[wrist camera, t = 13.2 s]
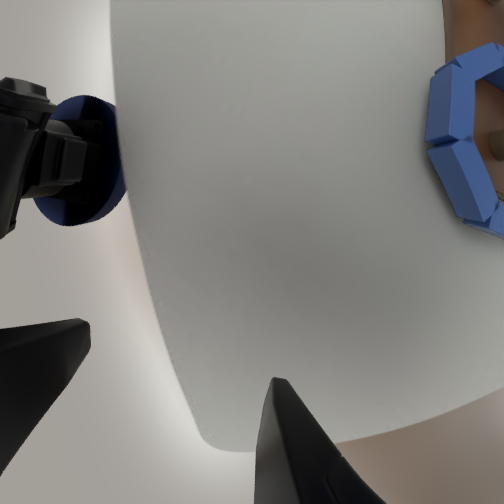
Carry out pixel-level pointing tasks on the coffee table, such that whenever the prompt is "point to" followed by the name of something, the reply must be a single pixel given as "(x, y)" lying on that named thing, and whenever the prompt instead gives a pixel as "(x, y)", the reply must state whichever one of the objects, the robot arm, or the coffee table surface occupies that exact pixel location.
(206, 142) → the coffee table surface
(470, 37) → the rack
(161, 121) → the coffee table surface
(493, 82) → the ring
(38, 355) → the robot arm
